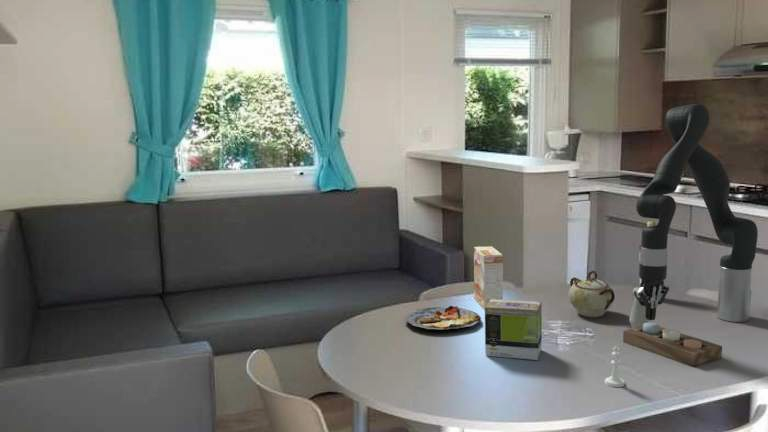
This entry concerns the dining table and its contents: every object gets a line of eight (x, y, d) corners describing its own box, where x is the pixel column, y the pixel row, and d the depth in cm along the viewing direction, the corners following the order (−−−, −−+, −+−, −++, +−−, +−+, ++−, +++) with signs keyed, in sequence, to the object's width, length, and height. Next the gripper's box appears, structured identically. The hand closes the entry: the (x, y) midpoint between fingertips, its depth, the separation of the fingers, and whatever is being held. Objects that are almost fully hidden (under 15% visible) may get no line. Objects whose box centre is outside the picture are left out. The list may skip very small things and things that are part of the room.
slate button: (649, 331, 211) (650, 321, 210) (662, 335, 207) (662, 325, 206) (639, 334, 208) (639, 324, 208) (652, 338, 204) (652, 328, 204)
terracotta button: (690, 348, 199) (690, 338, 198) (704, 353, 195) (705, 342, 194) (679, 351, 197) (680, 341, 196) (694, 356, 193) (694, 346, 192)
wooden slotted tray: (650, 334, 215) (650, 323, 215) (721, 358, 195) (722, 346, 194) (623, 341, 209) (623, 330, 209) (693, 367, 189) (694, 354, 188)
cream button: (669, 337, 205) (669, 327, 204) (683, 342, 201) (683, 332, 200) (658, 340, 202) (659, 330, 202) (672, 345, 198) (672, 335, 198)
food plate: (462, 309, 246) (462, 299, 245) (493, 329, 224) (493, 318, 223) (395, 318, 238) (395, 308, 237) (420, 339, 216) (420, 328, 216)
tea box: (541, 349, 205) (542, 300, 202) (537, 361, 195) (538, 310, 193) (490, 344, 209) (490, 297, 207) (484, 356, 200) (484, 306, 198)
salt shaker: (649, 331, 218) (651, 291, 216) (630, 330, 219) (632, 290, 217) (646, 325, 224) (648, 286, 221) (627, 324, 225) (629, 285, 223)
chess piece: (601, 380, 182) (602, 343, 180) (619, 379, 182) (621, 342, 180) (609, 387, 177) (610, 349, 175) (628, 386, 177) (629, 348, 175)
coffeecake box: (473, 298, 258) (473, 246, 255) (492, 297, 259) (492, 245, 256) (483, 310, 244) (483, 255, 241) (503, 309, 244) (503, 254, 241)
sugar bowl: (629, 317, 232) (631, 273, 230) (596, 325, 225) (597, 279, 223) (586, 303, 249) (587, 262, 247) (554, 310, 242) (554, 267, 240)
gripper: (657, 257, 211) (654, 312, 213) (627, 262, 204) (624, 319, 207) (679, 261, 204) (676, 319, 207) (648, 267, 198) (645, 326, 200)
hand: (650, 319), depth 207 cm, fingers closed
